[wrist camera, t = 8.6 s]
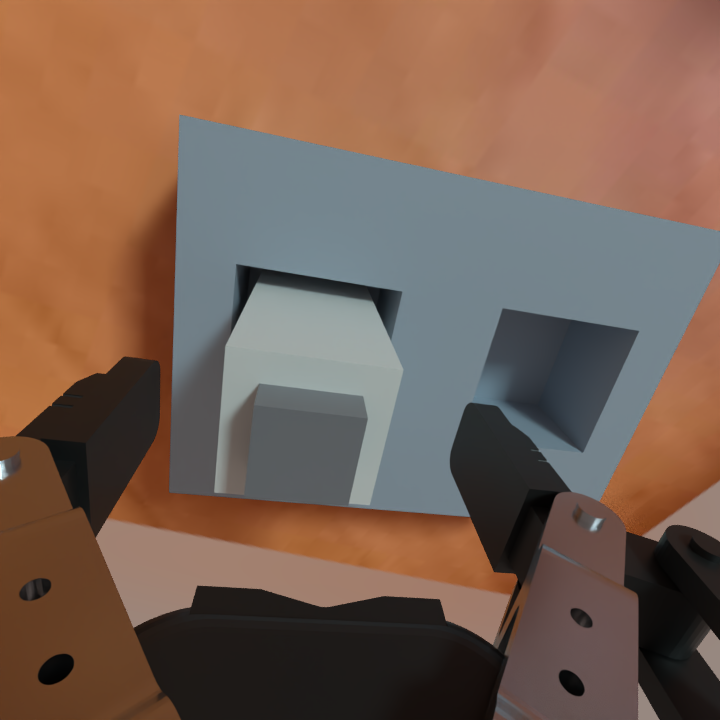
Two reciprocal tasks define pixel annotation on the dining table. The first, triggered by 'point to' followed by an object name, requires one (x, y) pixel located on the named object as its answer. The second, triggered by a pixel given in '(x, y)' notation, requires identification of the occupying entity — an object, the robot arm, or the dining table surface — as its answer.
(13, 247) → the dining table surface
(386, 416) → the plug
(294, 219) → the socket board
